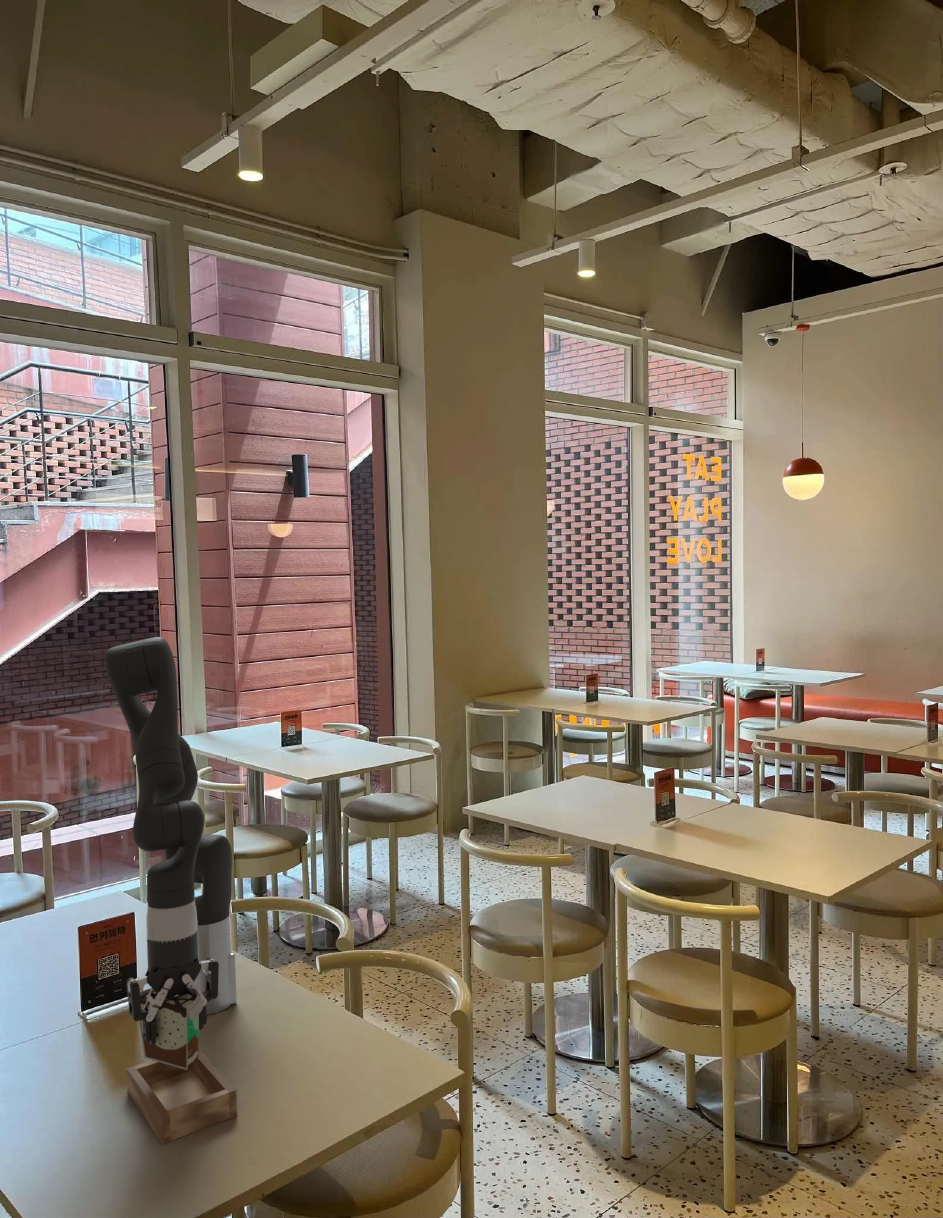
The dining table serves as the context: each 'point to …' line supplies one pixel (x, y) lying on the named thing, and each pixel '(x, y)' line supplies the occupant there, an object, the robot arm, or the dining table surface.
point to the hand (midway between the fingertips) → (175, 1035)
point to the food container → (175, 1030)
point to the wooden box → (181, 1097)
